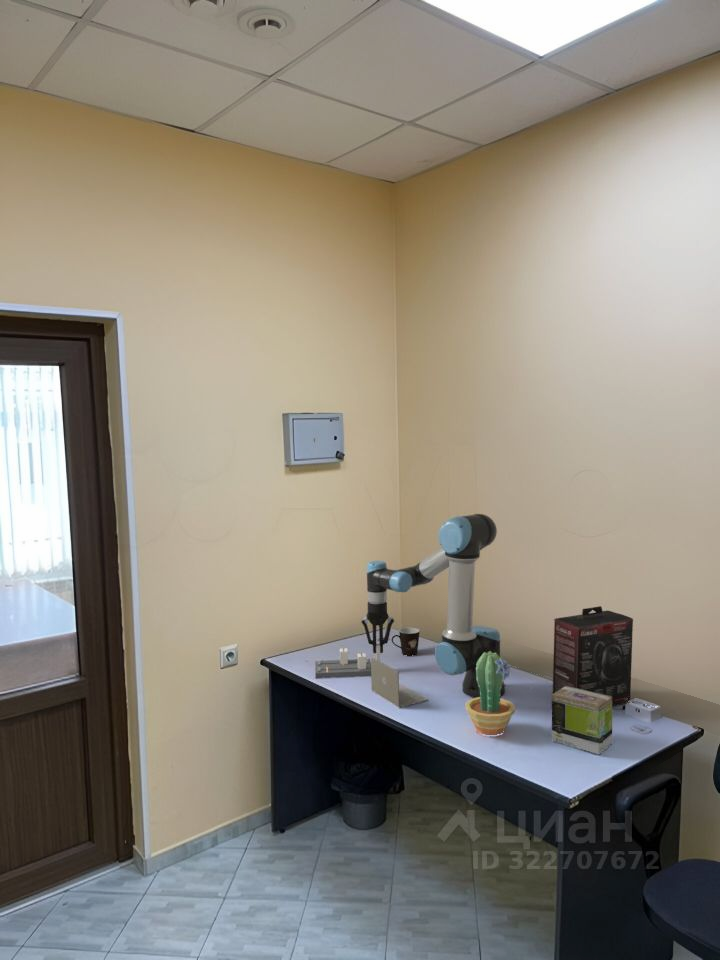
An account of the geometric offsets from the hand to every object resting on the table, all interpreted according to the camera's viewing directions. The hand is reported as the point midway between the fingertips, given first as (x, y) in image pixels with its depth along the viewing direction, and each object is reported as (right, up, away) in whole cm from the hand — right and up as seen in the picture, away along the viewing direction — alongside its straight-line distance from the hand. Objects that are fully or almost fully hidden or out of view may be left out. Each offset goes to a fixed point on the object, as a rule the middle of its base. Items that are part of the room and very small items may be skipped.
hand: (378, 661), depth 270 cm
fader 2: (-6, -2, 0) cm, 7 cm away
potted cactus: (+33, -8, -53) cm, 63 cm away
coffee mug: (+12, -3, +22) cm, 25 cm away
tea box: (+59, -9, -62) cm, 86 cm away
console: (-14, -5, +3) cm, 15 cm away
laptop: (+7, -7, -23) cm, 25 cm away
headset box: (+72, -6, -33) cm, 79 cm away
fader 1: (-13, -2, +6) cm, 15 cm away
